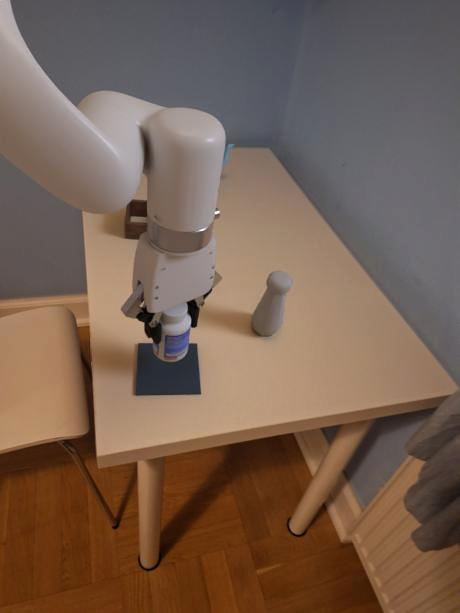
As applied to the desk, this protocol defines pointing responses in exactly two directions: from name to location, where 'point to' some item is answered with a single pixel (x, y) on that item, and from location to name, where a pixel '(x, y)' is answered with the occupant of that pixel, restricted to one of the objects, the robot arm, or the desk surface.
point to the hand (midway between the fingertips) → (171, 328)
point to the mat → (167, 373)
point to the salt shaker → (272, 304)
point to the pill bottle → (174, 334)
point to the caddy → (135, 228)
